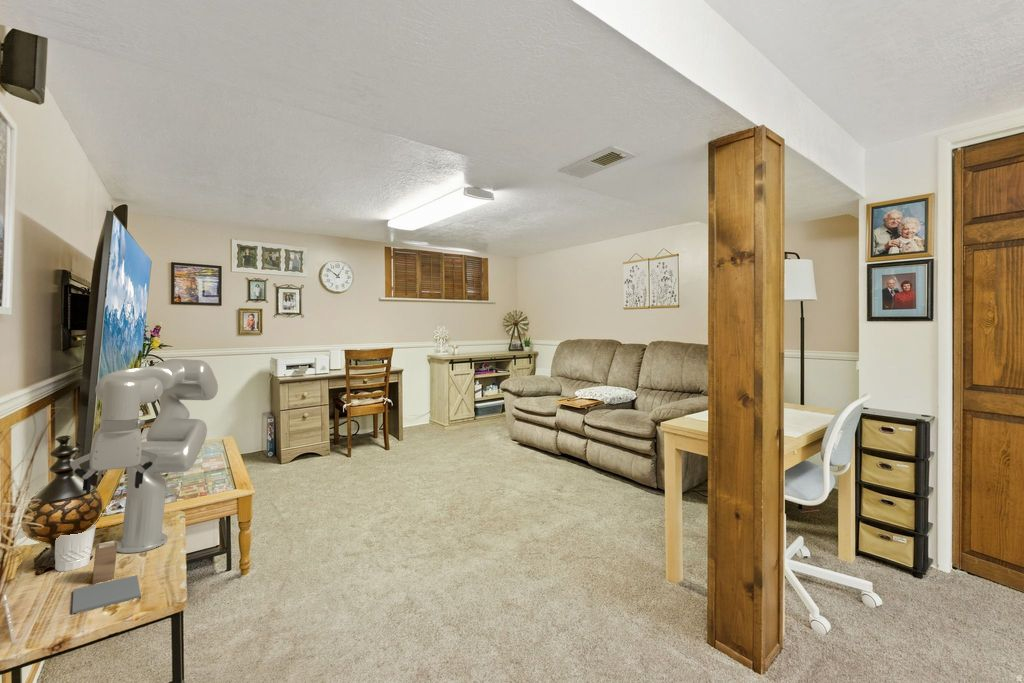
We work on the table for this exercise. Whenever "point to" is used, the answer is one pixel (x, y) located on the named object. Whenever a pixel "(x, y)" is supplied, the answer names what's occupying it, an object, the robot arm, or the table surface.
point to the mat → (105, 594)
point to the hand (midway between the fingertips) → (113, 489)
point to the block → (104, 561)
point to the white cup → (74, 550)
